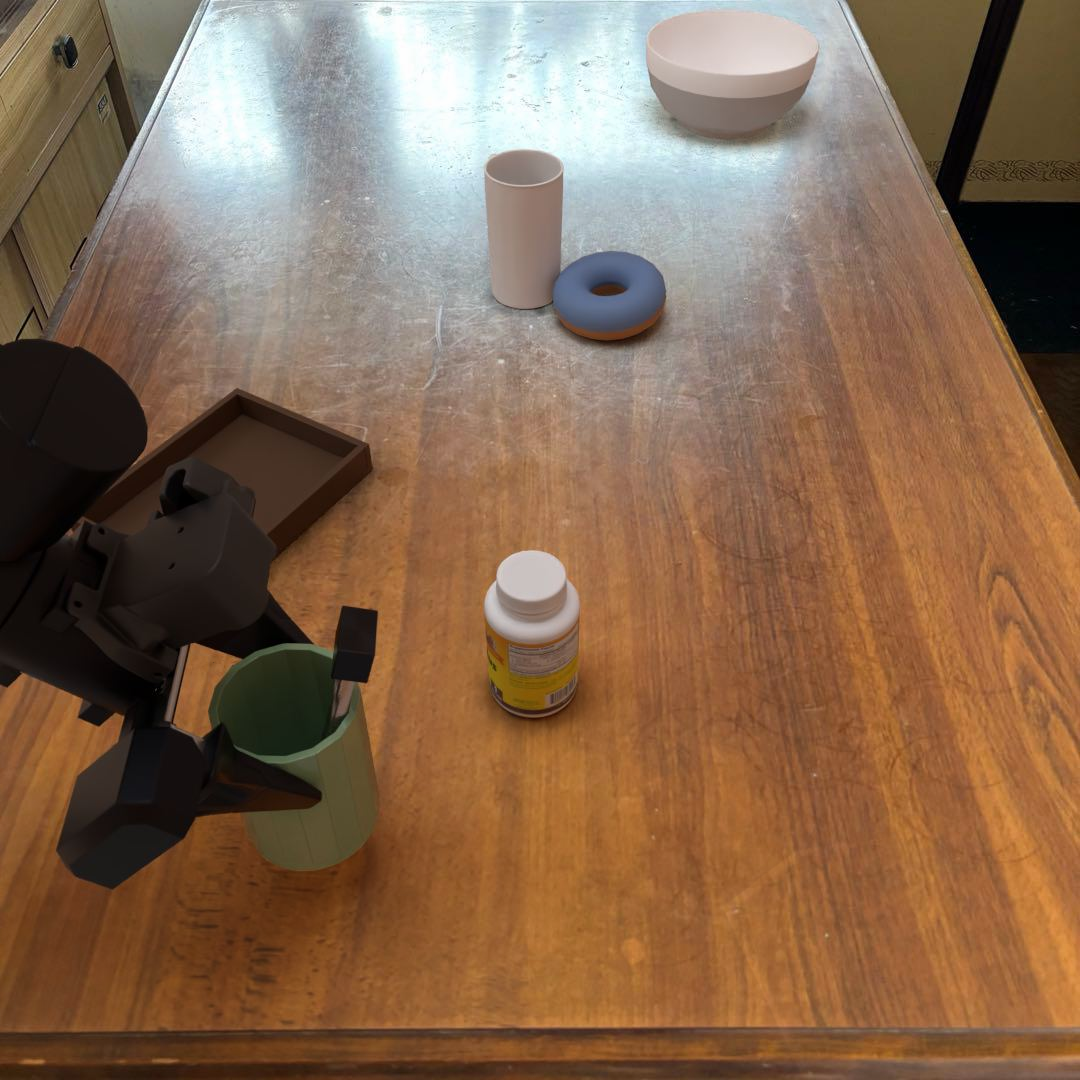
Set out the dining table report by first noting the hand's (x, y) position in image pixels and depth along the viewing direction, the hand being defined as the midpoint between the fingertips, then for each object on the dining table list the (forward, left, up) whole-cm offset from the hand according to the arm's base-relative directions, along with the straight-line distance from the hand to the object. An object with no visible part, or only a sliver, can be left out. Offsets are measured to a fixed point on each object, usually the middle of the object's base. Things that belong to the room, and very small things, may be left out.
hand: (323, 736), depth 53 cm
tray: (-3, +31, -11) cm, 33 cm away
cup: (-1, 0, -7) cm, 7 cm away
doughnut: (+32, +45, -12) cm, 57 cm away
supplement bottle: (+13, +8, -12) cm, 19 cm away
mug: (+26, +53, -12) cm, 60 cm away
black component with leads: (0, 0, -6) cm, 6 cm away
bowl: (+59, +79, -12) cm, 99 cm away
